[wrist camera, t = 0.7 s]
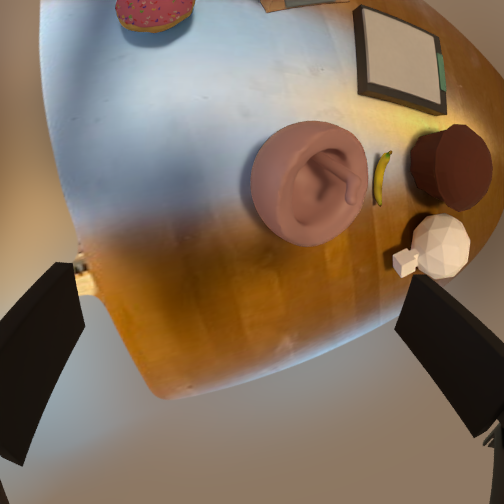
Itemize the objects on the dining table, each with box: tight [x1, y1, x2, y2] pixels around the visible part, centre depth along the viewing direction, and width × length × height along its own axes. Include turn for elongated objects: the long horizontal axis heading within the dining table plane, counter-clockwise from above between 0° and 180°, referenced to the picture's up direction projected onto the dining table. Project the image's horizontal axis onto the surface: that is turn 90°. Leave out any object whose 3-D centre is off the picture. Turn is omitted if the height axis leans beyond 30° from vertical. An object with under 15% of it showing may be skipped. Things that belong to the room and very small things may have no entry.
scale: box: [353, 5, 447, 116], centre depth 29 cm, size 13×14×3 cm
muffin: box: [410, 124, 493, 212], centre depth 30 cm, size 12×11×10 cm
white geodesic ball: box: [393, 213, 470, 279], centre depth 34 cm, size 9×9×12 cm
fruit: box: [374, 151, 392, 207], centre depth 33 cm, size 7×1×3 cm, turn 178°
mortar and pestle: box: [250, 121, 368, 247], centre depth 27 cm, size 12×12×11 cm
